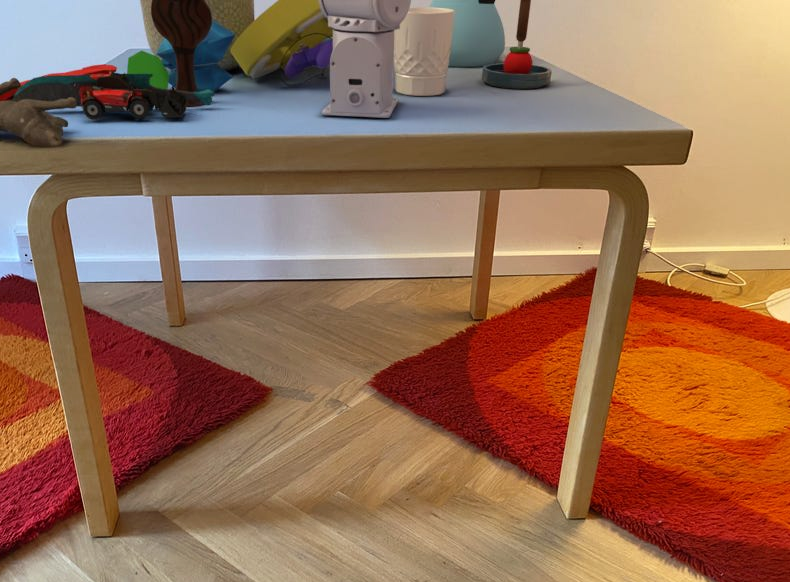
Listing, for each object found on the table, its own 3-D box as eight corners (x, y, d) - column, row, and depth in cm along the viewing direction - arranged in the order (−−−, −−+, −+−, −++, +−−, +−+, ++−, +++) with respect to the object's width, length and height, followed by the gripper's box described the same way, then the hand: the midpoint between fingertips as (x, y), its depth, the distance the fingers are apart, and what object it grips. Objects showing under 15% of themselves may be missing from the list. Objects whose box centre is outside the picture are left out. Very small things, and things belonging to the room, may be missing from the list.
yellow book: (262, 50, 112) (281, 78, 113) (213, 56, 94) (237, 89, 95) (343, -20, 105) (362, 10, 107) (307, -28, 87) (331, 8, 88)
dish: (551, 91, 96) (553, 75, 95) (481, 88, 98) (482, 73, 97) (547, 78, 105) (549, 64, 104) (482, 76, 106) (483, 62, 105)
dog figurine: (6, 118, 78) (-36, 160, 73) (-18, 70, 73) (-64, 112, 69) (100, 137, 75) (62, 181, 71) (81, 88, 70) (39, 133, 66)
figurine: (224, 99, 90) (210, -64, 81) (213, 107, 86) (198, -64, 77) (168, 97, 91) (148, -65, 81) (155, 105, 87) (132, -65, 77)
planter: (209, 82, 99) (197, -43, 91) (124, 70, 107) (107, -46, 99) (280, 65, 112) (275, -46, 104) (200, 56, 119) (190, -48, 111)
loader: (187, 110, 83) (182, 68, 81) (182, 119, 79) (177, 75, 77) (84, 111, 83) (76, 69, 80) (73, 121, 79) (65, 76, 76)
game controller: (258, 54, 96) (307, 32, 102) (281, 112, 100) (327, 88, 105) (303, 37, 89) (353, 14, 94) (327, 101, 93) (374, 75, 98)
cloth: (146, 57, 102) (150, 74, 103) (58, 70, 104) (63, 86, 105) (69, 78, 79) (75, 99, 80) (-42, 94, 81) (-34, 114, 82)
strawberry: (530, 83, 99) (542, -4, 93) (502, 82, 100) (511, -4, 94) (529, 78, 102) (540, -6, 97) (501, 77, 103) (511, -6, 97)
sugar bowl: (504, 69, 111) (513, -13, 105) (410, 66, 113) (413, -15, 107) (502, 55, 124) (510, -19, 118) (417, 53, 126) (420, -21, 120)
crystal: (155, 29, 95) (238, 8, 92) (177, 95, 99) (257, 77, 97) (135, 36, 88) (224, 14, 86) (159, 106, 93) (244, 87, 90)
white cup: (401, 98, 91) (405, 13, 86) (383, 87, 98) (385, 7, 93) (457, 95, 93) (464, 12, 88) (436, 85, 100) (441, 6, 94)
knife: (211, 74, 82) (216, 109, 86) (211, 68, 82) (216, 103, 86) (-8, 78, 79) (8, 114, 83) (-7, 72, 79) (9, 108, 84)
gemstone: (157, 108, 91) (138, 121, 95) (177, 73, 93) (157, 87, 97) (117, 75, 87) (99, 91, 92) (138, 40, 89) (120, 57, 94)
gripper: (532, -120, 84) (517, 6, 91) (527, -114, 96) (515, -2, 103) (472, -120, 85) (462, 5, 92) (475, -114, 97) (466, -4, 104)
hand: (486, 1), depth 98 cm, fingers open, 7 cm apart
